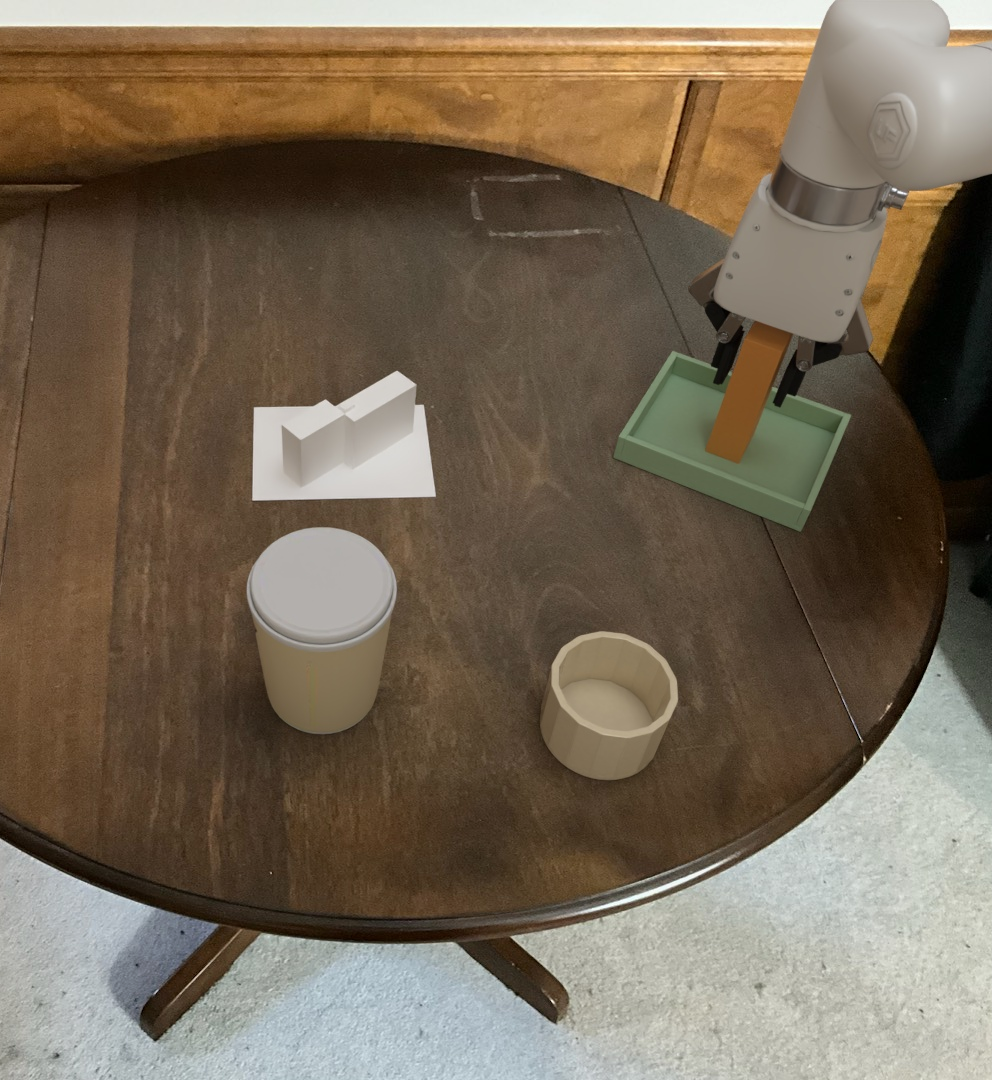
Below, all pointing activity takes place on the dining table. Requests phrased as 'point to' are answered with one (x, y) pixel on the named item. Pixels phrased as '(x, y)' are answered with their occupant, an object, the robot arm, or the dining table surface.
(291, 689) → the coffee cup
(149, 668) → the dining table surface
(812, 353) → the robot arm
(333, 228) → the dining table surface
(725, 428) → the orange rectangular bar
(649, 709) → the cup
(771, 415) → the tray
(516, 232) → the dining table surface
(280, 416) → the napkin holder
